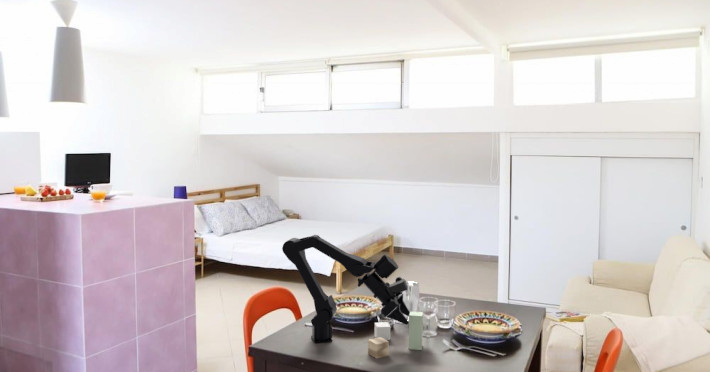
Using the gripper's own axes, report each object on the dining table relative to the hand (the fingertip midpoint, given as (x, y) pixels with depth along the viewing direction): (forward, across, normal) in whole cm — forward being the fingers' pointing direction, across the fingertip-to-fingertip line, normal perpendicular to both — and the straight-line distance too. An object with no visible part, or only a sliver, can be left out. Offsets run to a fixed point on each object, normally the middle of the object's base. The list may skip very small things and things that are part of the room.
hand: (408, 319), depth 195 cm
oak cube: (0, -10, +14) cm, 17 cm away
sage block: (+9, 0, +5) cm, 10 cm away
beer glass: (+6, +29, +8) cm, 31 cm away
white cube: (0, +7, +14) cm, 16 cm away
